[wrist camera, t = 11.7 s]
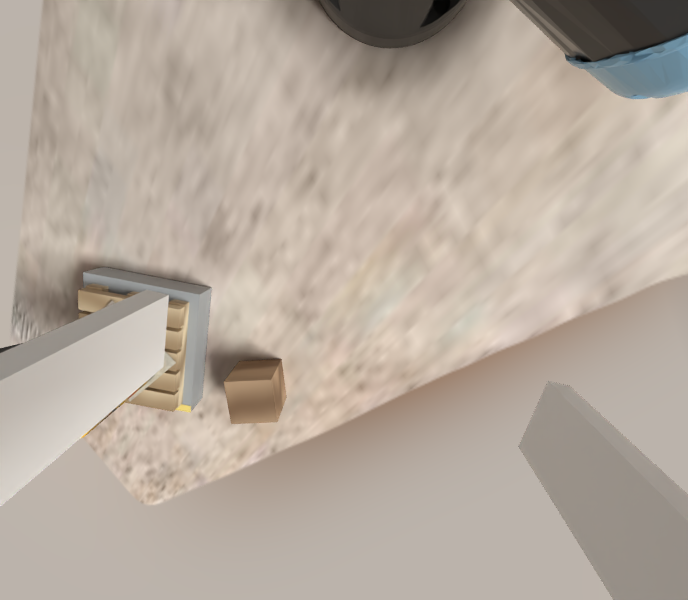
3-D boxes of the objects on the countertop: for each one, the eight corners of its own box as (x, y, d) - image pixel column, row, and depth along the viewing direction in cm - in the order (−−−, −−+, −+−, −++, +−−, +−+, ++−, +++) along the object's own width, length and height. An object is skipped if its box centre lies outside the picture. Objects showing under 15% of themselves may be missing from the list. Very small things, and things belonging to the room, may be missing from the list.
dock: (103, 266, 38) (82, 272, 35) (211, 287, 38) (199, 294, 36) (104, 379, 42) (85, 392, 39) (202, 397, 42) (190, 412, 39)
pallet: (93, 283, 36) (77, 288, 34) (189, 302, 36) (179, 307, 34) (94, 386, 39) (80, 395, 37) (182, 402, 39) (173, 413, 37)
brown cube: (239, 360, 41) (223, 382, 36) (281, 358, 41) (271, 379, 36) (245, 398, 42) (231, 423, 37) (286, 396, 42) (277, 422, 37)
